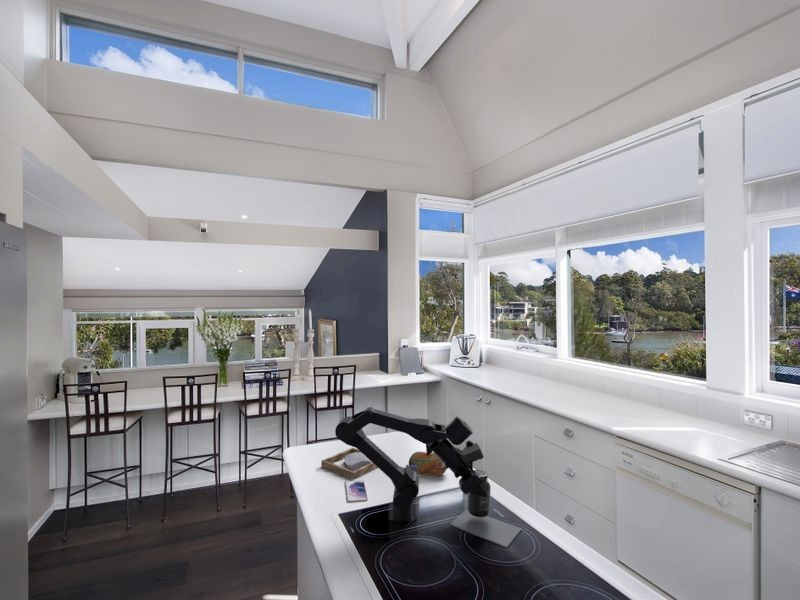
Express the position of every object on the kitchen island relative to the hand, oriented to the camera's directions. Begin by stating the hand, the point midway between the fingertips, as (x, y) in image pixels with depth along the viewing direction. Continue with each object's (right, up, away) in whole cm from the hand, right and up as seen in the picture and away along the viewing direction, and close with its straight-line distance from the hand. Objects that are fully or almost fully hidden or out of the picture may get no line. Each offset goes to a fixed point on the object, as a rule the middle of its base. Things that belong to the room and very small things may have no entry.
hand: (483, 490), depth 124 cm
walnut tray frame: (-45, -9, +40) cm, 61 cm away
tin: (-15, -9, +33) cm, 38 cm away
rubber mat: (0, -10, -3) cm, 10 cm away
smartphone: (-41, -10, +18) cm, 46 cm away
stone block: (-43, -9, +40) cm, 60 cm away
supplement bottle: (-2, -7, 0) cm, 7 cm away
